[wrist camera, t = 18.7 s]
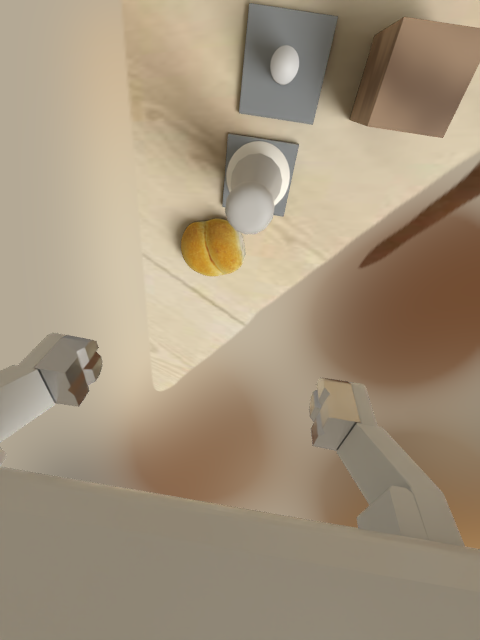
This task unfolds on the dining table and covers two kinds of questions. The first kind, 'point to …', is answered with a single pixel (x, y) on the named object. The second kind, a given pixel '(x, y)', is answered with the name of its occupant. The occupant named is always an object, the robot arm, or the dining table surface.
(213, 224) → the bread roll
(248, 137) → the board
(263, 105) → the board
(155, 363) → the dining table surface
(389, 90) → the brown wooden block
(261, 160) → the salt shaker
